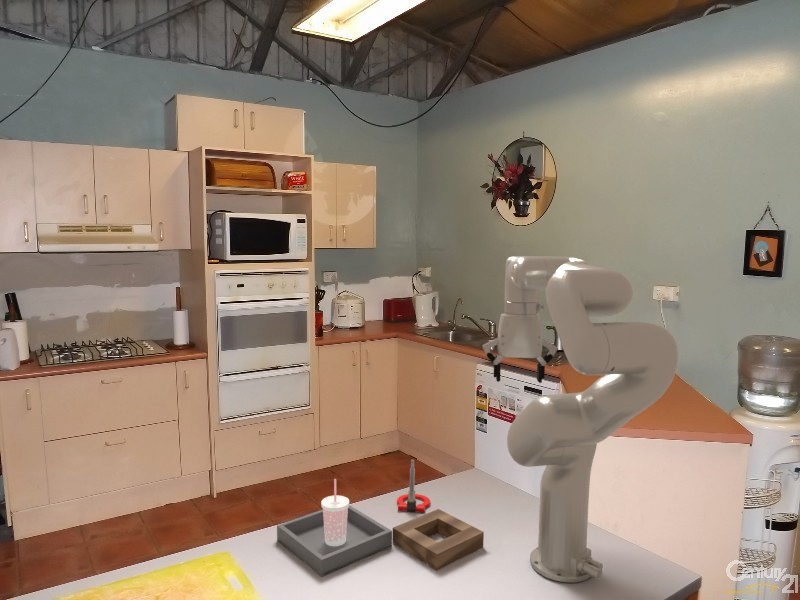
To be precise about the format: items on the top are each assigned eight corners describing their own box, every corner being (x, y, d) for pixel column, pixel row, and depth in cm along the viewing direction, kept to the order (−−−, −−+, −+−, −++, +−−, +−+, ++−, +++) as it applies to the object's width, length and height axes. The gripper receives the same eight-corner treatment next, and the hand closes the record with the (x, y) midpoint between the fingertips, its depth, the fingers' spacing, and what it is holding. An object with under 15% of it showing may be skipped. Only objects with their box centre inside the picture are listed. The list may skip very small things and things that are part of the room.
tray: (391, 546, 126) (392, 530, 126) (321, 576, 114) (321, 559, 114) (344, 515, 140) (344, 501, 139) (277, 540, 128) (276, 525, 128)
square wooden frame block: (483, 547, 126) (483, 532, 125) (436, 570, 117) (437, 554, 116) (438, 523, 136) (438, 508, 136) (392, 542, 127) (392, 527, 127)
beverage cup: (339, 530, 131) (338, 471, 130) (355, 541, 126) (355, 480, 125) (316, 539, 127) (315, 478, 126) (331, 551, 122) (331, 487, 121)
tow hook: (399, 496, 151) (393, 511, 142) (400, 448, 150) (395, 459, 141) (431, 499, 150) (428, 514, 141) (433, 450, 149) (429, 462, 140)
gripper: (555, 307, 138) (552, 378, 140) (482, 306, 140) (480, 376, 141) (561, 311, 131) (558, 385, 133) (484, 310, 132) (482, 383, 134)
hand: (518, 380), depth 137 cm, fingers open, 9 cm apart
